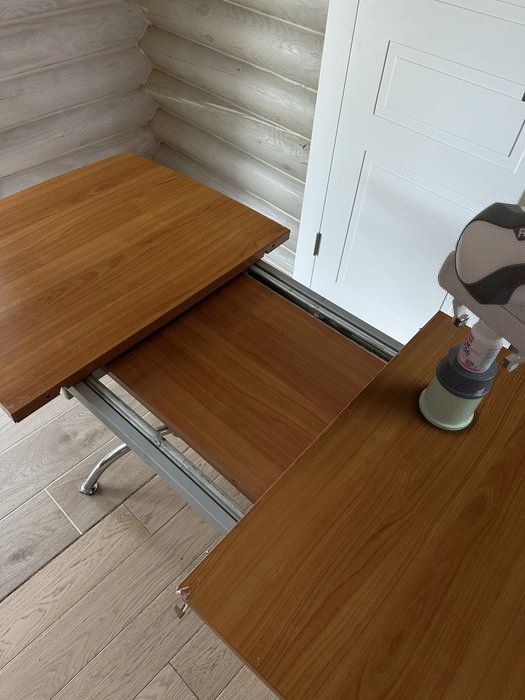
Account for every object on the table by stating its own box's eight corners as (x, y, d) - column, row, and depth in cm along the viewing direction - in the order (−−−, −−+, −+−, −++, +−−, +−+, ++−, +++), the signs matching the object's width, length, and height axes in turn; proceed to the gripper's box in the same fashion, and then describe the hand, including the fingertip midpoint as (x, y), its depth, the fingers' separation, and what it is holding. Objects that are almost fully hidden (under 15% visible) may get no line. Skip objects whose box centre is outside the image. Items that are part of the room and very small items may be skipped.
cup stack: (483, 416, 85) (515, 369, 76) (445, 439, 81) (474, 393, 72) (444, 379, 90) (470, 331, 81) (407, 399, 86) (430, 351, 77)
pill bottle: (449, 354, 77) (470, 313, 71) (474, 346, 79) (497, 306, 72) (469, 377, 74) (493, 337, 68) (495, 369, 76) (521, 329, 69)
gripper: (615, 312, 59) (556, 386, 70) (480, 220, 70) (446, 295, 81) (583, 331, 57) (526, 405, 67) (448, 232, 68) (417, 308, 78)
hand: (481, 344), depth 74 cm, fingers open, 8 cm apart
